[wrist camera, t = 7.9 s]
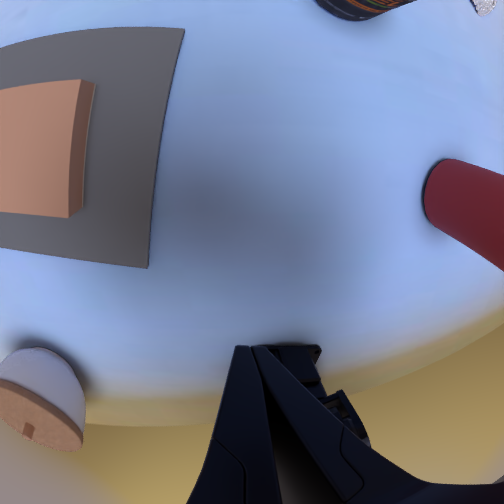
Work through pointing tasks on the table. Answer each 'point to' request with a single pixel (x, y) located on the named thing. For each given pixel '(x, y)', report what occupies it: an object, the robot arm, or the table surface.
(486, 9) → the pincushion
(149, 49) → the mat
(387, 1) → the pill bottle
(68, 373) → the lidded jar
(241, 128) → the table surface
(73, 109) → the tile
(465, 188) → the beer can
